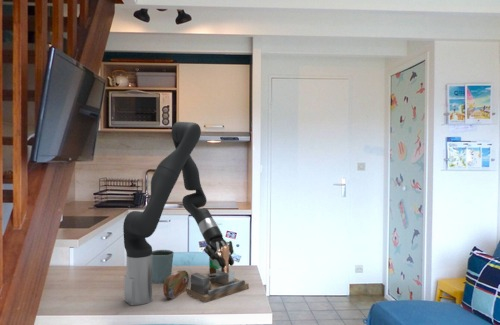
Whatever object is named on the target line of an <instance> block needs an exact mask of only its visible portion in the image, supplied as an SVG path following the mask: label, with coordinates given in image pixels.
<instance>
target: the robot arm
mask: <svg viewBox="0 0 500 325" xmlns="http://www.w3.org/2000/svg"><path fill="white" fill-rule="evenodd" d="M171 127H172V128H171V138H172V142H173V144H174V145H173V146H174V148H175V149H174V151H172V152H171V153H170V154H168V155H167V156H165V158H163V159H162V160H161V161H160V162H159V164H158V165H157V167H156V168H155V170H154V172H153V174H152V177H151V179H150V196H149V200H148V202H147V204H146V206H145V208H144V209H143V211H138V210H133V211H130V212H129V213H127V214H126V216H125V217H124V220H123V225H122V226H123V228H122V230H123V231H122V232H123V246H124V250H125V252H126V274H125V275H124V277H123V278H124V280H123V281H124V282H123V283H124V288H123V291H124V292H123V293H124V295H123V296H124V298H123V299H124V300H123V301H124V302H126V303H127V304H129V306H137V305H145V304H148V303H150V302H151V301H152V300H153V282H152V251H153V248H152V245H151V244H150V243H149V242H148V241H147V239H146V238H150V237H151V236H152V235H153V234H154V232H155V231H156V230H157V227H158V225H159V222H160V219H161V217H162V214H163V212H164V208H165V206H166V203H167V202H168V199H169V197H170V195H171V193H172V191H173V189H174V187H175V185H176V183H177V182H178V180H179V177H180V174H181V173H182V178H183V186H184V188H185V190H187V191H195V192H194V193H189V194H186V195H184V196H183V198H182V201H181V202H182V205H183V208H184V209H185V210H186V212H188V213H189V214H190V216H192V218H193V219H194V220H195V222H196V225H197V226H198V228H199V231H200V233H201V235H202V237H203V239H204V241H205V243H206V246H205V247H204V249H203V251H204V253H205V254H206V255H207V256H208V257H210V258H211V259H212V260H214V259H215V260H217V261H218V263H219V264H220V266H221V267H222V268H224V267H225V266H226V264H225V262H224V260H223V258H222V257H221V254H220V252H221V246H224V245H227V246H229V267H232V266H233V265H234V264H235V260H234V258H233V256H232V255H233V254H234V253H235V251H234V246H233V242H232V241H231V240H229V241H226V240H225V239H224V237H223V233H222V231H221V230H220V228H219V226H218V225H217V222H216V221H215V219H214V218H213V216H212V213H211V212H210V210H209V209H208V208H205V207H204V206H206V204H207V196H206V194H205V192H204V191H203V187H202V185H201V179H200V178H201V177H200V172H199V169H198V165H197V164H196V162H195V161H194V159H193V158H192V156H191V153H192V152H193V151H194V149H195V148H196V146H197V144H198V142H199V141H200V138H201V134H202V130H201V126H200V125H199V124H198V123H196V122H191V121H190V122H189V121H177V122H175V123H173V125H172V126H171ZM203 207H204V208H203Z"/></svg>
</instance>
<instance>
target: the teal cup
mask: <svg viewBox="0 0 500 325" xmlns="http://www.w3.org/2000/svg"><path fill="white" fill-rule="evenodd" d="M173 258H174V251H173V250H170V249H157V250H152V283H154V284H164V281H165V279H166V278H167V277H168V276H170V275H172V271H173V262H174V261H173V260H174V259H173Z"/></svg>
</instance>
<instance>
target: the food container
mask: <svg viewBox="0 0 500 325" xmlns="http://www.w3.org/2000/svg"><path fill="white" fill-rule="evenodd" d="M220 254H221V252H220ZM208 257H209V256H208ZM208 261H209V262H208V264H209V272H208V273H209V278H212V277H216V269H219V268H221V266H220V264H219V263H218V261H217V260H215V259H214V260H212V259H211V258H210V257H209V260H208Z"/></svg>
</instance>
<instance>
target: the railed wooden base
mask: <svg viewBox="0 0 500 325" xmlns="http://www.w3.org/2000/svg"><path fill="white" fill-rule="evenodd" d="M209 281H210V282H211V288H210V289H209ZM249 286H250V285H249V283H248V282H246V280H244V279H242V280H240V279H237V278H235V277H234V283H232V284H229V285H224V284H221V283H219V282H217V281H216V277H210V276H206V275H204V274H201V273H198V272H196V273H191V274H190V287H187V289H186V294H187V295H188V296H191V297H193V298H195V299H197V300H199V301H202V302H204V303H208V302H210V301H213V300H214V301H215V300H216V299H220V298H222V297H226V296H230V295H232V294H233V295H234V294H235V293H238V292H241V291H244V290H248V289H249Z"/></svg>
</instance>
